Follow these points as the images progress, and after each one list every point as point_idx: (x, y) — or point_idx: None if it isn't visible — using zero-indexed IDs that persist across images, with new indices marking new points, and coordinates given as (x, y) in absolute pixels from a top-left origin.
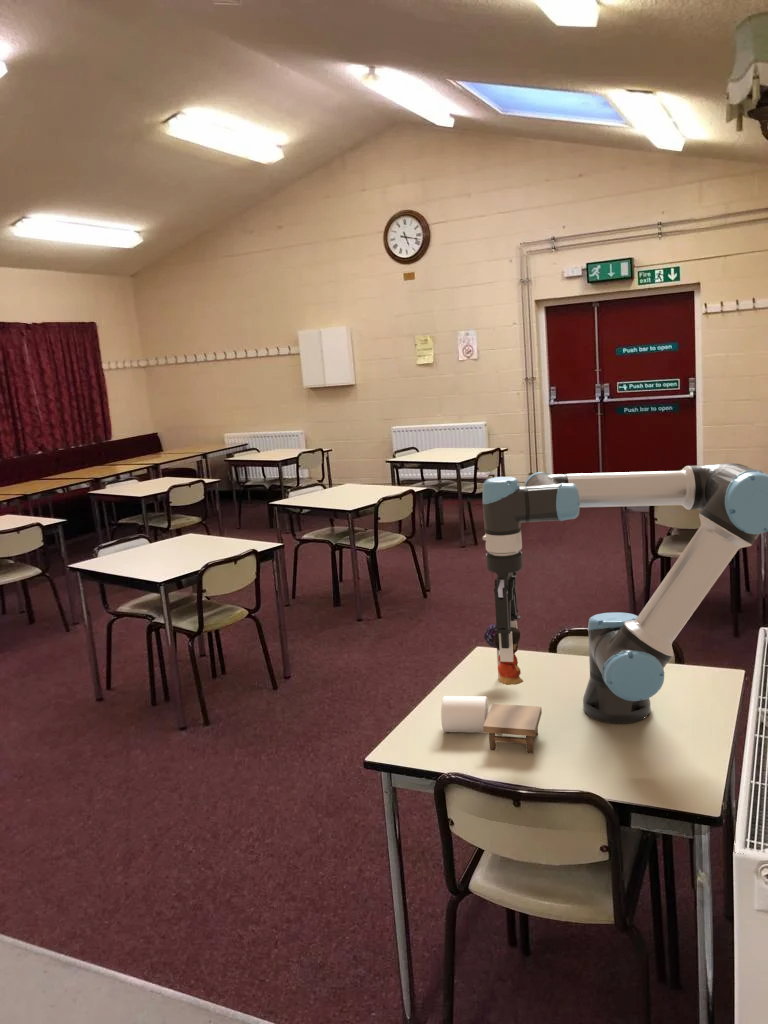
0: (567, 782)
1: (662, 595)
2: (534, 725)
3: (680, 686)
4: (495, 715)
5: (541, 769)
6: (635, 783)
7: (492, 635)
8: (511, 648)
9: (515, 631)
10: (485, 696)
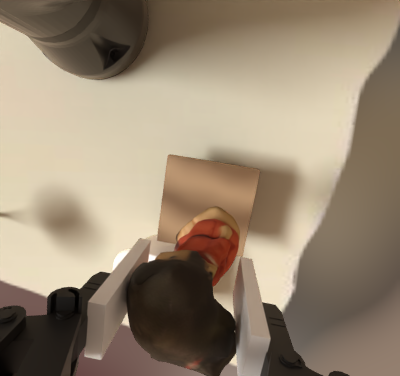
0: (334, 121)
1: None
2: (242, 170)
3: None
4: None
5: (293, 158)
6: (346, 10)
7: None
8: (257, 289)
9: (179, 296)
10: (151, 257)
